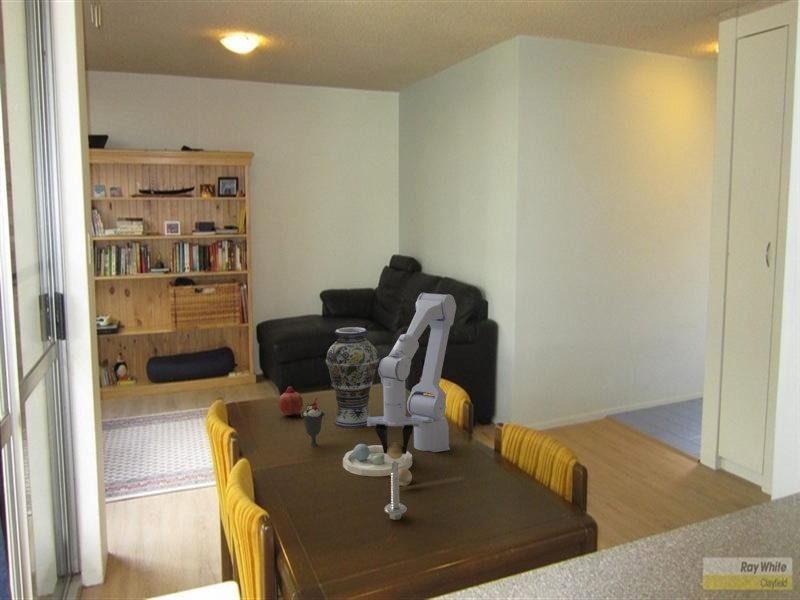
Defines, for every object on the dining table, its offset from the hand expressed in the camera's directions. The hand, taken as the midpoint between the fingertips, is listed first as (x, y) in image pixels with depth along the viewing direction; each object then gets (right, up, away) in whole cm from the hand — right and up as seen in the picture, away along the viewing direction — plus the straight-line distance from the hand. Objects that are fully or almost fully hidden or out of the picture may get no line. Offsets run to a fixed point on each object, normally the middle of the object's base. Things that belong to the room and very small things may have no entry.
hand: (395, 452), depth 175 cm
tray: (-5, -4, +1) cm, 6 cm away
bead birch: (+2, -5, -12) cm, 14 cm away
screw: (0, -8, -29) cm, 30 cm away
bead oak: (0, -2, 0) cm, 2 cm away
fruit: (-35, +1, +46) cm, 58 cm away
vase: (-14, +1, +38) cm, 41 cm away
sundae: (-23, -2, +15) cm, 28 cm away
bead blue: (-9, -3, +3) cm, 10 cm away
